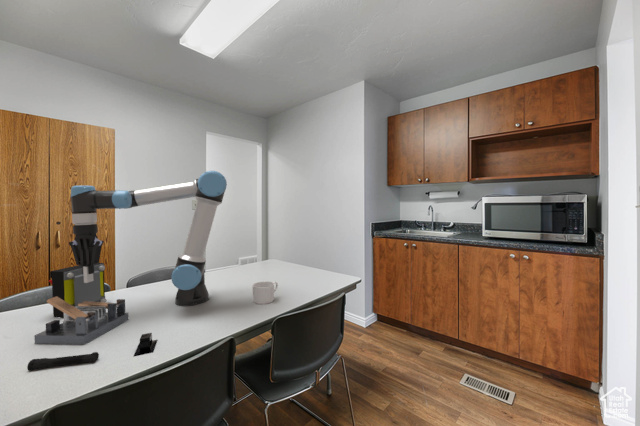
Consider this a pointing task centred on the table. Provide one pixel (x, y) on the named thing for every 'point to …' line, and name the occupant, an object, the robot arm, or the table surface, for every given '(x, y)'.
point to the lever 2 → (93, 304)
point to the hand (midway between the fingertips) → (88, 281)
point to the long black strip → (61, 361)
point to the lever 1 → (66, 308)
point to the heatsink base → (84, 325)
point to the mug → (264, 292)
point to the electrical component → (77, 286)
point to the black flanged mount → (145, 345)
